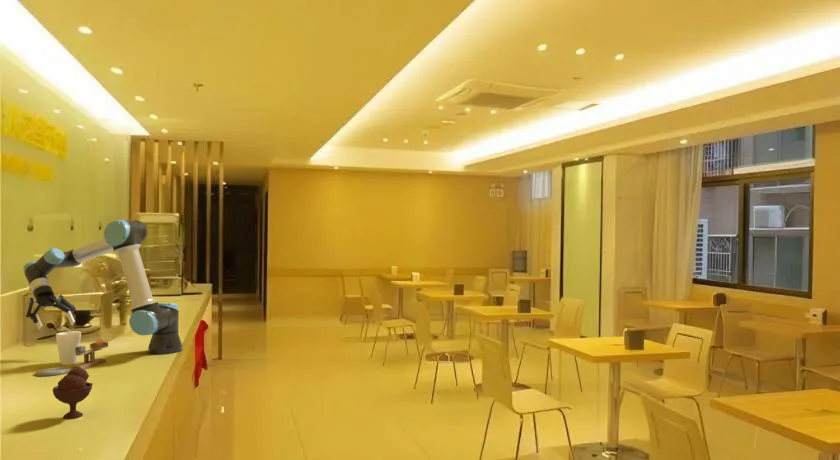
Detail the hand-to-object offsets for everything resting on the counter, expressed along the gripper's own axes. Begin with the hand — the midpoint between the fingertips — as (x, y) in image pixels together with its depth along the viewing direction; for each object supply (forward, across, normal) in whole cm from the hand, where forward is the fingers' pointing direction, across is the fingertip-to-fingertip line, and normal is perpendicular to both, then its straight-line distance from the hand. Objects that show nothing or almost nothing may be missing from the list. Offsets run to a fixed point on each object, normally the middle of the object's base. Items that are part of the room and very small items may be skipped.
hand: (57, 325), depth 267 cm
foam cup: (+18, 0, -4) cm, 19 cm away
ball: (+20, -8, +10) cm, 23 cm away
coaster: (+28, +12, +6) cm, 31 cm away
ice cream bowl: (+74, +35, +52) cm, 97 cm away
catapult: (+28, -2, +6) cm, 28 cm away
